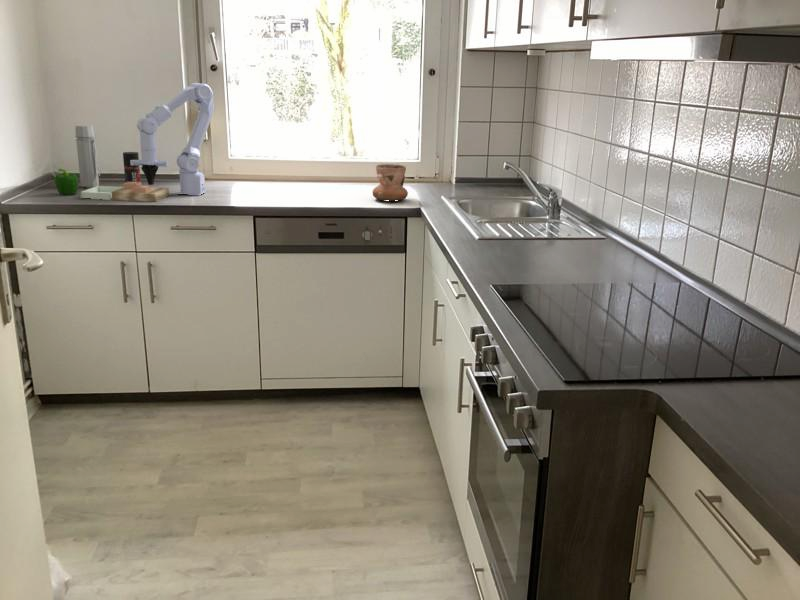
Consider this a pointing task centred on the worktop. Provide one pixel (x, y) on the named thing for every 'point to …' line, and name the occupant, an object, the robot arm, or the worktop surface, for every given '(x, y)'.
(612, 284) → the worktop surface
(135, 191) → the tile
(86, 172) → the water bottle
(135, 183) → the tile
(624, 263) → the worktop surface
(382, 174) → the brown clay vase
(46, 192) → the worktop surface
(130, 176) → the deodorant
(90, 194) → the tray
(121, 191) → the board
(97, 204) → the worktop surface
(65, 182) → the bell pepper
